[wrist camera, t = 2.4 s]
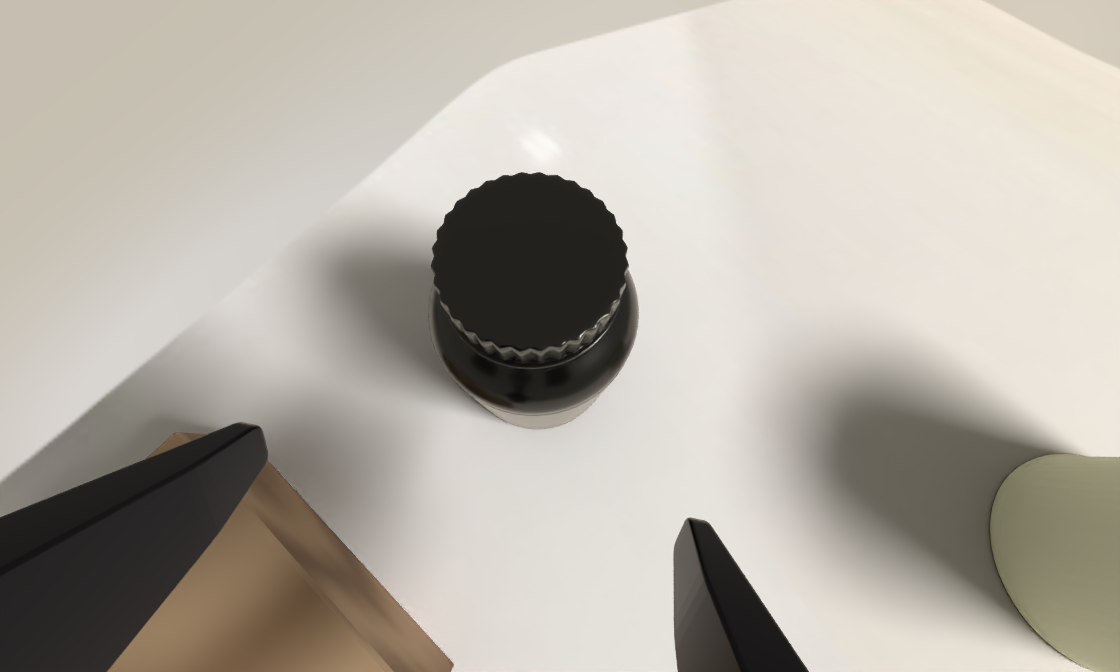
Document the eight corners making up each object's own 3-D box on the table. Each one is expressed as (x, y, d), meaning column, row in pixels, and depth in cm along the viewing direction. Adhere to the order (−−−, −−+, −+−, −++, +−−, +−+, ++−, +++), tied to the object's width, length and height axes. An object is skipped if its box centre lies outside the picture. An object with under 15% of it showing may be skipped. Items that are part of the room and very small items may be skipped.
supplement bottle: (460, 422, 21) (345, 373, 9) (485, 292, 23) (415, 118, 11) (600, 440, 21) (661, 414, 9) (613, 309, 22) (677, 150, 11)
